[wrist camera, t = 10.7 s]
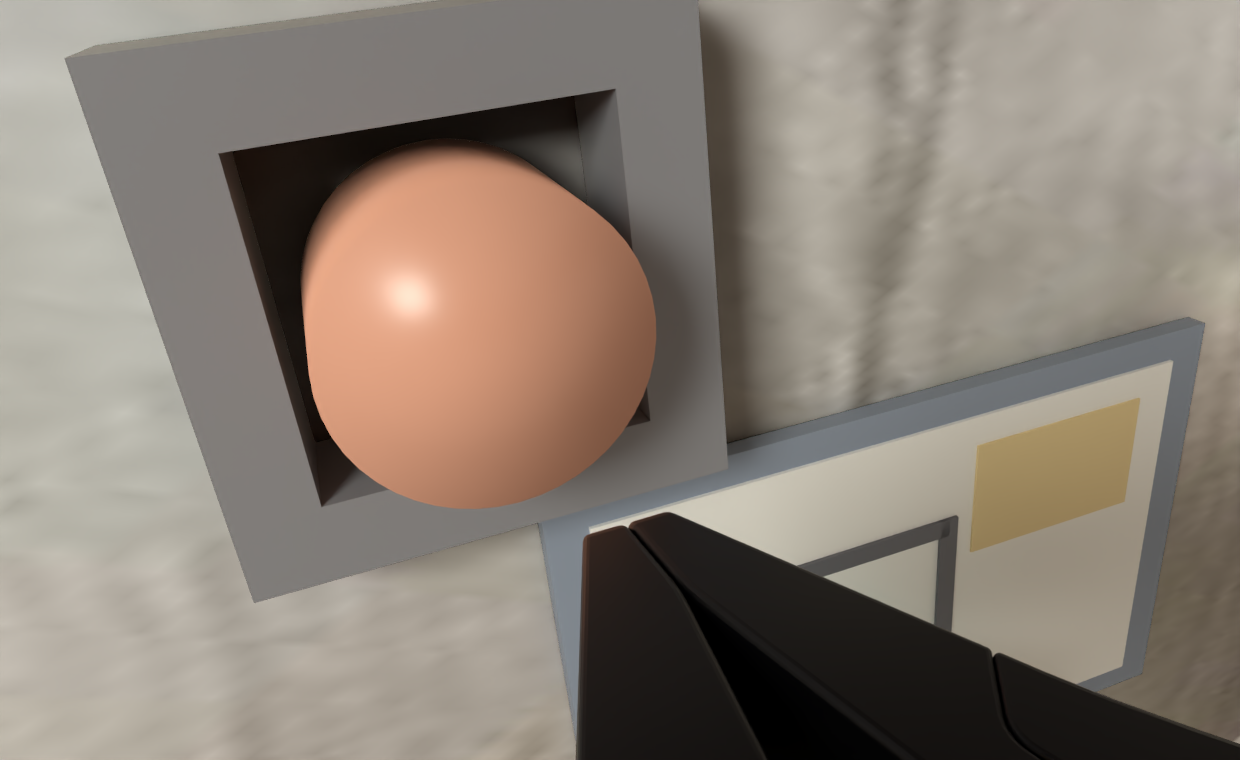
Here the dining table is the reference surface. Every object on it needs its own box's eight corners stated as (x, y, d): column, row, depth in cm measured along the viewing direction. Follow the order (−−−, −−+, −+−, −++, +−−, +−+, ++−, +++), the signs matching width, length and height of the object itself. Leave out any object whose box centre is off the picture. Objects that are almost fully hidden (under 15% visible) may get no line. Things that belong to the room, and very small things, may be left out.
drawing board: (1188, 317, 25) (1211, 325, 24) (1129, 663, 30) (1147, 678, 29) (533, 496, 20) (542, 513, 19) (597, 869, 25) (606, 891, 25)
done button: (568, 115, 16) (639, 149, 13) (601, 378, 18) (669, 460, 15) (264, 167, 15) (263, 217, 12) (339, 443, 17) (355, 547, 14)
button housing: (640, -26, 17) (695, -26, 14) (679, 416, 20) (728, 469, 18) (94, 45, 14) (64, 58, 12) (256, 528, 18) (254, 603, 16)
